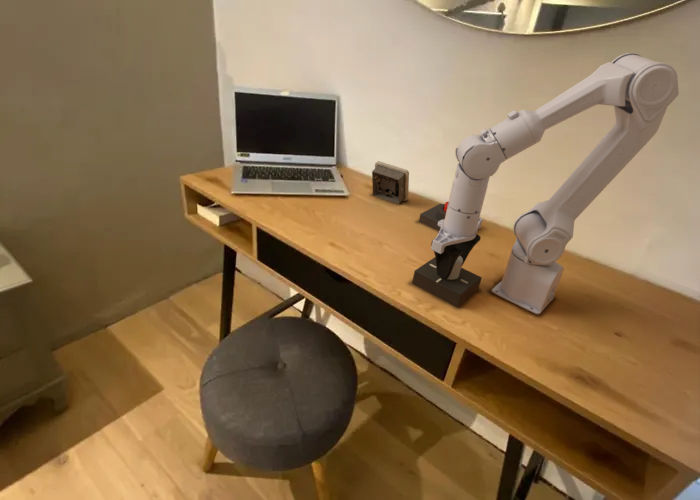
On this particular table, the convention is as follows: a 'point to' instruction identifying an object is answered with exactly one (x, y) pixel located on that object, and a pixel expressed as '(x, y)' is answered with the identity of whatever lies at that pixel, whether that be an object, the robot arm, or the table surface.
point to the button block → (433, 216)
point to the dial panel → (446, 283)
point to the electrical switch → (390, 182)
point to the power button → (446, 206)
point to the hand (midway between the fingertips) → (448, 271)
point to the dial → (456, 269)
